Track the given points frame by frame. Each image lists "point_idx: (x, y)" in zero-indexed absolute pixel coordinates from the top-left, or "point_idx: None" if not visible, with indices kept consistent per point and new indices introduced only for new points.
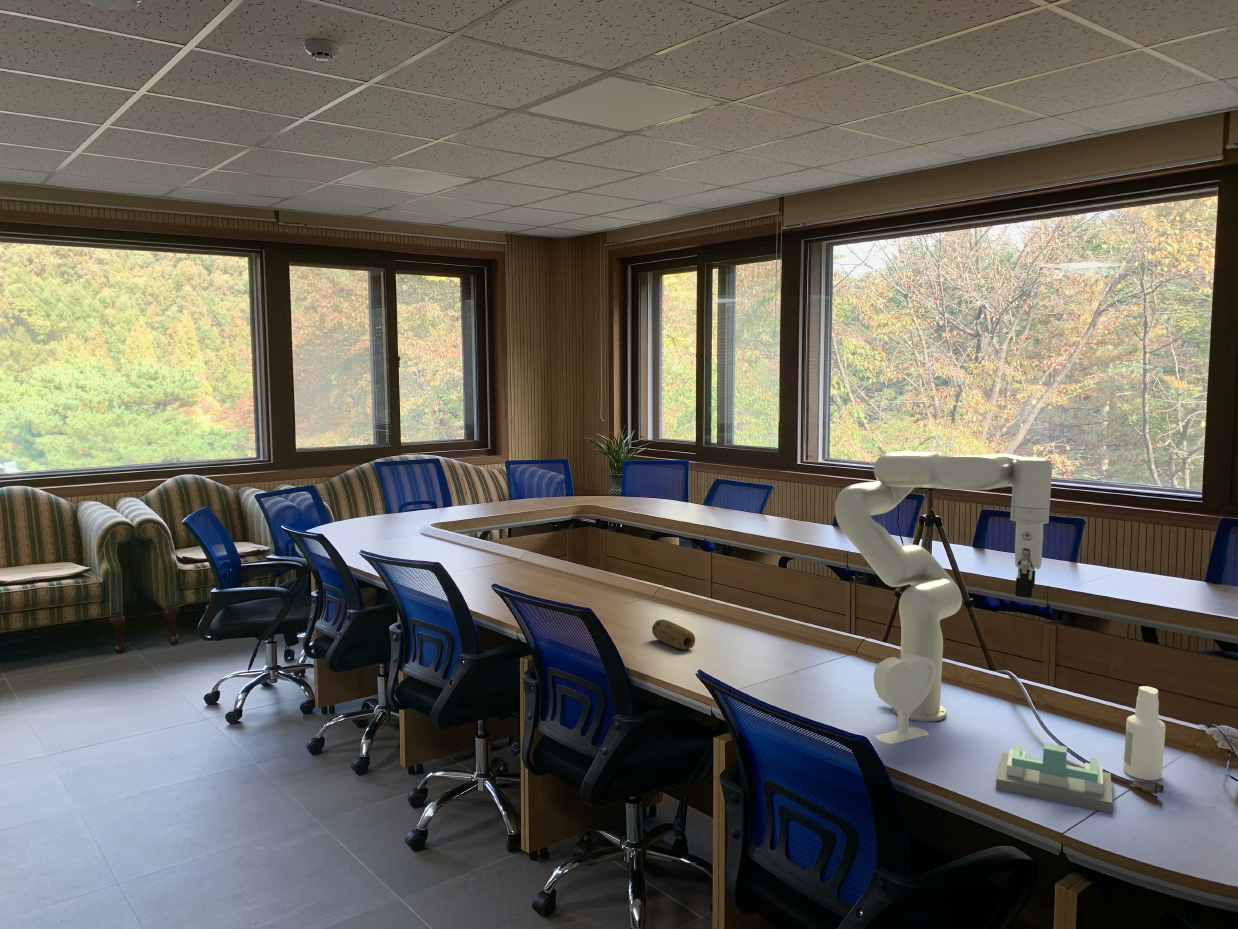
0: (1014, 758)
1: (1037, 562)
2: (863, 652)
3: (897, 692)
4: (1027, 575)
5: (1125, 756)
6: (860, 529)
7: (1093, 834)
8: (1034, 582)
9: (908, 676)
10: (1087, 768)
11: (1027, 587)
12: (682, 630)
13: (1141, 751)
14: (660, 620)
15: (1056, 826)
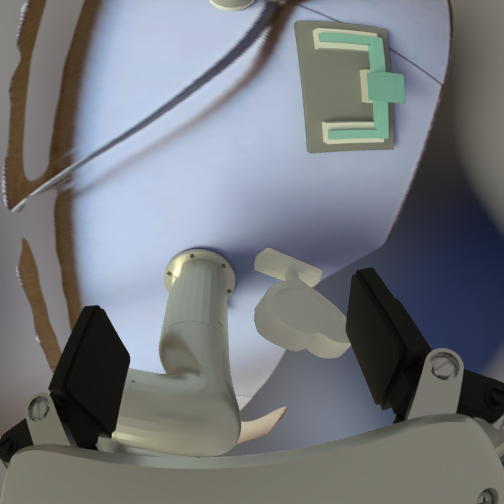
0: (388, 135)
1: (499, 459)
2: None
3: (323, 311)
4: (478, 378)
5: (243, 3)
6: None
7: (431, 57)
8: (85, 327)
9: (312, 320)
10: (339, 45)
11: (413, 322)
12: None
13: None
14: (198, 457)
15: (433, 88)
